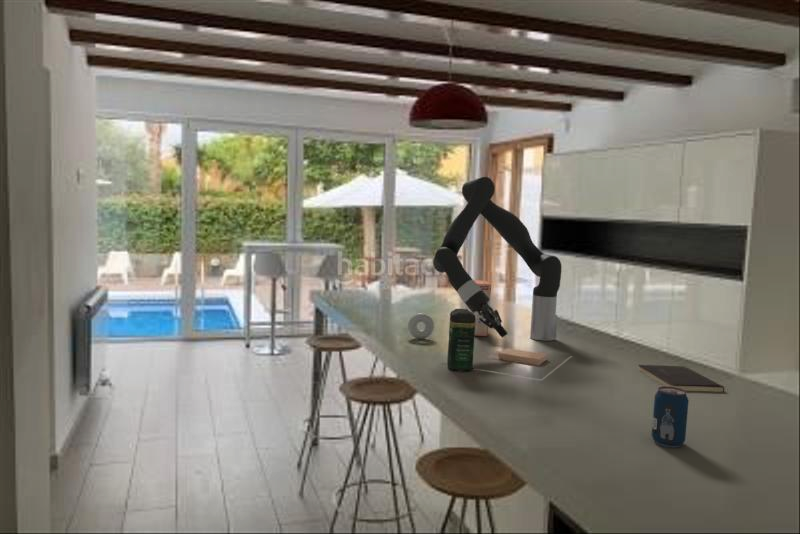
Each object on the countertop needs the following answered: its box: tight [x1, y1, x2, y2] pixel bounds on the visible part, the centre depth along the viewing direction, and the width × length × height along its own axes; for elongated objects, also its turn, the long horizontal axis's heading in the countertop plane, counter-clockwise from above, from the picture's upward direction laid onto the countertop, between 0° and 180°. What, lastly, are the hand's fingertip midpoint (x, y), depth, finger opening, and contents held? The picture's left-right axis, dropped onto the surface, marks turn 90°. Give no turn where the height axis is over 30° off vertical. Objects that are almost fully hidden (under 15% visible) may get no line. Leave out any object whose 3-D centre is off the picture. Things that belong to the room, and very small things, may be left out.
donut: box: [407, 312, 435, 340], centre depth 242 cm, size 10×4×10 cm, turn 95°
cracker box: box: [471, 279, 492, 337], centre depth 257 cm, size 14×6×21 cm, turn 179°
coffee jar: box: [446, 308, 476, 372], centre depth 200 cm, size 10×8×19 cm
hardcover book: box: [638, 364, 725, 393], centre depth 197 cm, size 16×23×2 cm
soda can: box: [651, 386, 689, 448], centre depth 142 cm, size 7×7×12 cm
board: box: [485, 351, 549, 367], centre depth 214 cm, size 12×18×1 cm, turn 62°
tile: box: [498, 348, 548, 366], centre depth 213 cm, size 2×9×14 cm
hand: (505, 335), depth 216 cm, fingers closed
